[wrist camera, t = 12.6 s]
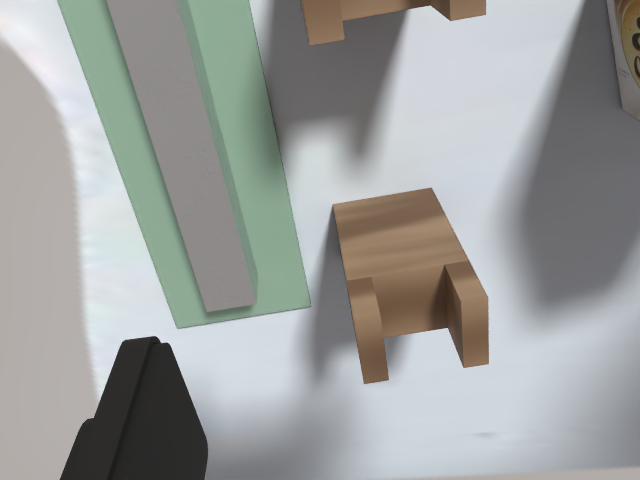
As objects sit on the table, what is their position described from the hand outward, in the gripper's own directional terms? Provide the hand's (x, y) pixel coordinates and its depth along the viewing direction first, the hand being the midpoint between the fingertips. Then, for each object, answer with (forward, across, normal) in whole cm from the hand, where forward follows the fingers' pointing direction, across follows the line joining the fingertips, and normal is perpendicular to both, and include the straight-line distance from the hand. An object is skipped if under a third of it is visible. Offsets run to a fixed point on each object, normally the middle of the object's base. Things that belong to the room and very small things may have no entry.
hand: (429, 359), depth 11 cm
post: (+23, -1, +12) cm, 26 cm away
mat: (+23, +9, +4) cm, 25 cm away
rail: (+23, +9, +4) cm, 25 cm away
